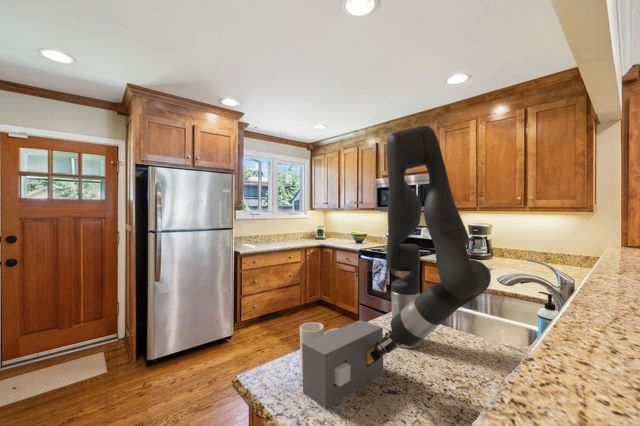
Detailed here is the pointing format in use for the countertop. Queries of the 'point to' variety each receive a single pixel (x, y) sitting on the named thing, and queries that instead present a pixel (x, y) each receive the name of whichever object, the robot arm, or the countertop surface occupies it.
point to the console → (339, 361)
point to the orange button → (368, 356)
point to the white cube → (341, 373)
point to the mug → (309, 334)
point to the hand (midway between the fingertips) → (373, 356)
